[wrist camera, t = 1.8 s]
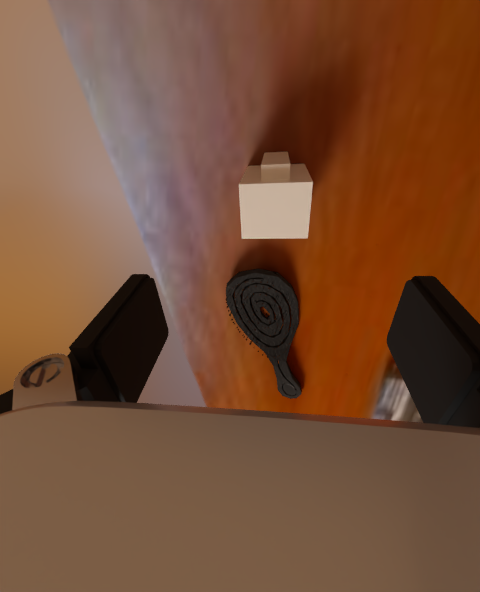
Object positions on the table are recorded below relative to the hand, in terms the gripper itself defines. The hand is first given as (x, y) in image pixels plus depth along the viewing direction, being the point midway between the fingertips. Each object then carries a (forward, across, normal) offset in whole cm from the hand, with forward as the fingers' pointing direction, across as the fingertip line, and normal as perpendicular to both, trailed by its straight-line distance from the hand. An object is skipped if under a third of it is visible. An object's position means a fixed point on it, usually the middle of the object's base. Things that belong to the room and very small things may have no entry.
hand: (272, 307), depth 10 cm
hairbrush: (+19, 0, +20) cm, 27 cm away
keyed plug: (+18, 0, 0) cm, 18 cm away
